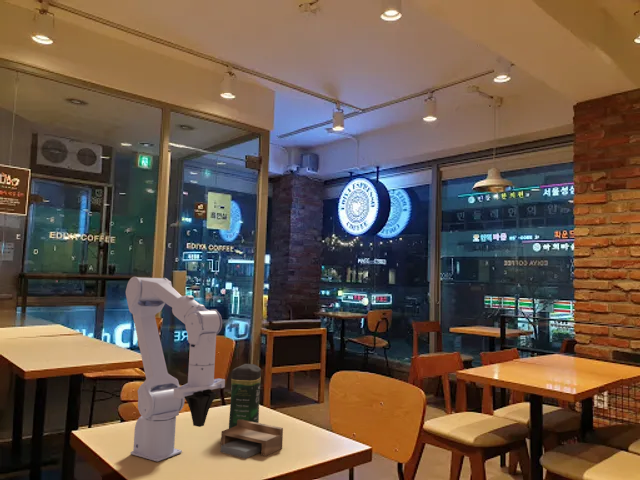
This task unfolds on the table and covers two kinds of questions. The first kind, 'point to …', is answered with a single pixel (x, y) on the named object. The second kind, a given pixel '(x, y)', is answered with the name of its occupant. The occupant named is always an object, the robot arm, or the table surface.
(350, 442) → the table surface
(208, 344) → the robot arm
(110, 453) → the table surface
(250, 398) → the coffee jar
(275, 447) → the walnut shelf
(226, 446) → the slate tile
